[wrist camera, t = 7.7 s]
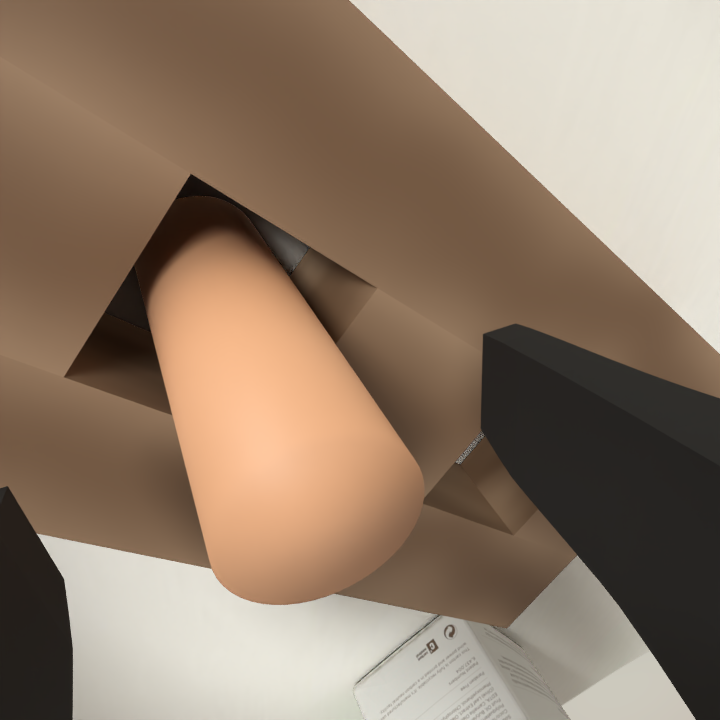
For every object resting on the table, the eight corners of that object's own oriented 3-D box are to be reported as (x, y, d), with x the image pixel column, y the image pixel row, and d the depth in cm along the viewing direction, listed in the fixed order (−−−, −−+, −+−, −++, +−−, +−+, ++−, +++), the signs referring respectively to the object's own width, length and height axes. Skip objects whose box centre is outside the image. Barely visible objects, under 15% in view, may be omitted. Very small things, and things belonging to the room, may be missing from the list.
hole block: (460, 556, 26) (506, 628, 24) (-205, 361, 13) (-270, 471, 11) (666, 326, 23) (745, 379, 21) (74, -208, 10) (82, -254, 8)
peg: (220, 329, 17) (343, 615, 10) (110, 281, 15) (163, 588, 8) (283, 233, 16) (464, 469, 9) (173, 170, 14) (295, 404, 7)
